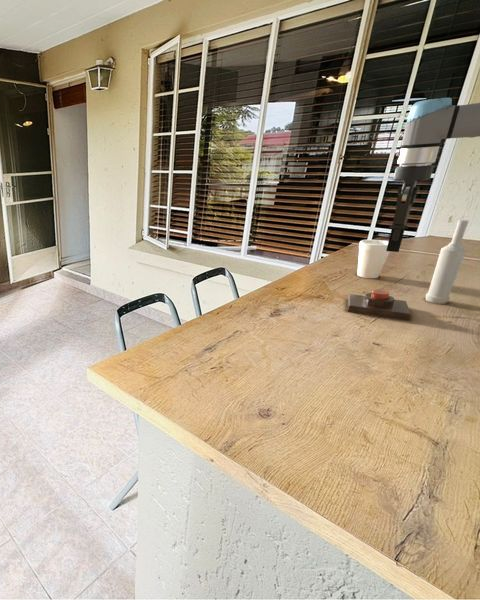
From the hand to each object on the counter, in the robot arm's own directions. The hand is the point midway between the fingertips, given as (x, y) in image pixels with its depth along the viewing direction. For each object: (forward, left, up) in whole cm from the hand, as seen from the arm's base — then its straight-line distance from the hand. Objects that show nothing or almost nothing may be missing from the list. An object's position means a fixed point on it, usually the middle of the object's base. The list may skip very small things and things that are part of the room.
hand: (392, 250), depth 102 cm
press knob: (0, +3, -14) cm, 14 cm away
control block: (0, +3, -18) cm, 18 cm away
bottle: (-12, -15, -18) cm, 26 cm away
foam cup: (+8, -32, -18) cm, 37 cm away
